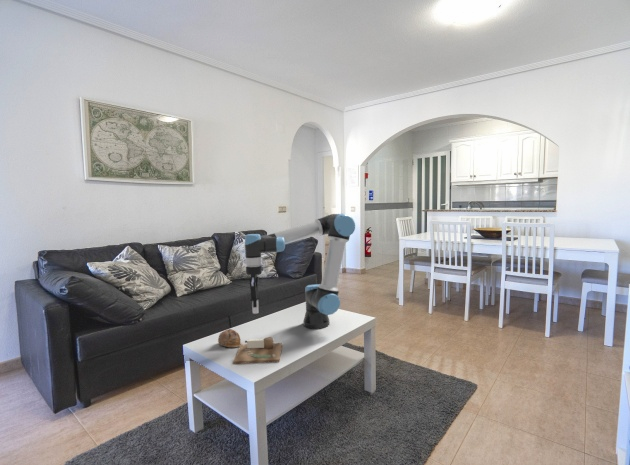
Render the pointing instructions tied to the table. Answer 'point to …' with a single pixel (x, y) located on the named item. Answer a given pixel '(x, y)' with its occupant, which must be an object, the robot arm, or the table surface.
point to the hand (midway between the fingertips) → (255, 313)
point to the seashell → (229, 338)
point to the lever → (260, 343)
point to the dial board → (258, 354)
